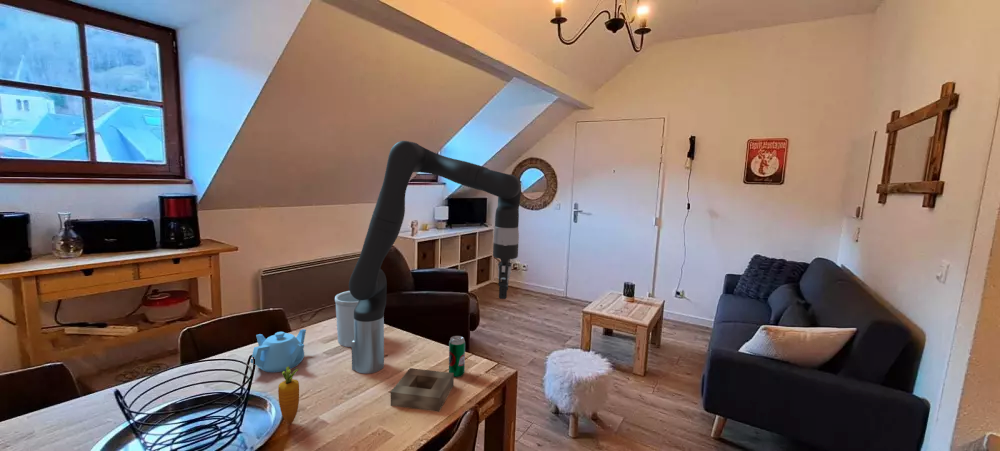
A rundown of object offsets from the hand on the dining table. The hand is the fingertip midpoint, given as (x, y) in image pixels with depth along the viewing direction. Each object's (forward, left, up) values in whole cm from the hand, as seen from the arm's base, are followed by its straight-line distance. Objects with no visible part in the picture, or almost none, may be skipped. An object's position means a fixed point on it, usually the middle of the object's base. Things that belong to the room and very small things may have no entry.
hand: (503, 294), depth 122 cm
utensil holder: (-59, +19, -28) cm, 68 cm away
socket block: (-21, -12, -28) cm, 37 cm away
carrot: (-49, -32, -28) cm, 65 cm away
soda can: (-15, +2, -28) cm, 32 cm away
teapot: (-73, -4, -29) cm, 78 cm away
